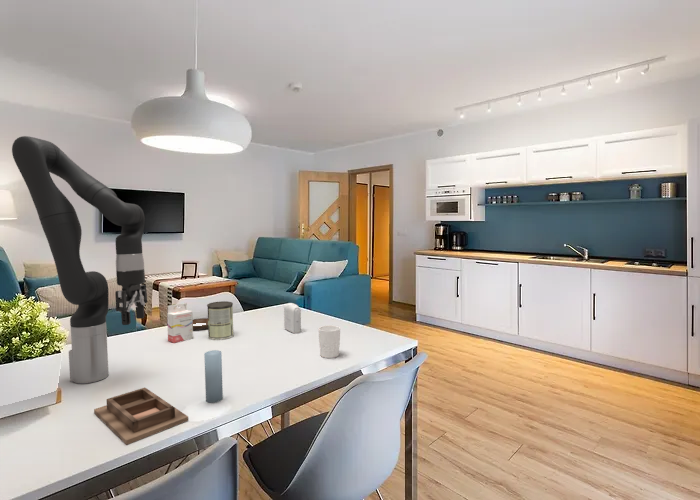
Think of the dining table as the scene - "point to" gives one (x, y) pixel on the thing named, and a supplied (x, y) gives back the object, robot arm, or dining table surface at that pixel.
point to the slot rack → (139, 415)
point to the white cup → (329, 341)
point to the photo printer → (292, 318)
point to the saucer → (202, 320)
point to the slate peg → (213, 376)
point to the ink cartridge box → (179, 323)
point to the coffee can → (220, 320)
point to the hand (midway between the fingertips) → (133, 321)
